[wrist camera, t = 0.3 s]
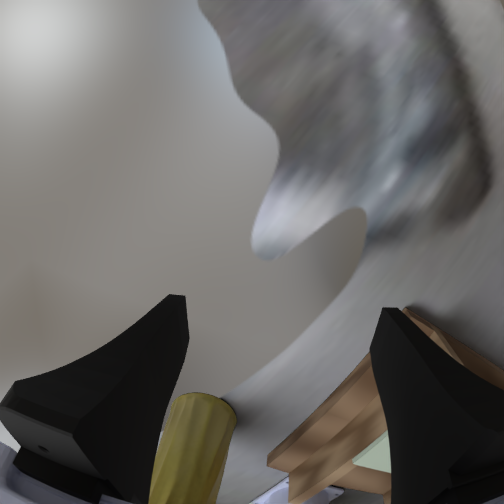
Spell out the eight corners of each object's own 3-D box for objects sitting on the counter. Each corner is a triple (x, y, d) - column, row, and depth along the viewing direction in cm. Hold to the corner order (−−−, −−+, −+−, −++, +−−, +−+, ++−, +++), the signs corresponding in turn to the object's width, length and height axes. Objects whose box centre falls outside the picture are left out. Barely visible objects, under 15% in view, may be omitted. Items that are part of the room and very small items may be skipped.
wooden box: (400, 488, 30) (407, 520, 25) (267, 454, 28) (264, 496, 23) (519, 381, 23) (541, 410, 18) (405, 307, 22) (430, 345, 17)
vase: (206, 442, 28) (174, 563, 15) (159, 407, 27) (104, 531, 14) (250, 419, 27) (229, 560, 13) (200, 380, 26) (149, 527, 12)
